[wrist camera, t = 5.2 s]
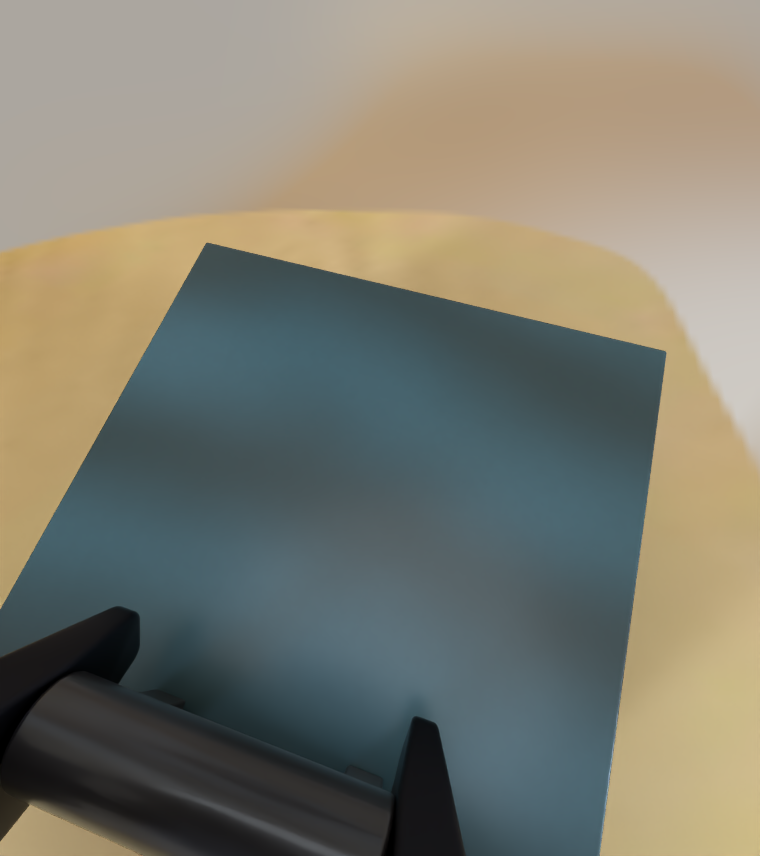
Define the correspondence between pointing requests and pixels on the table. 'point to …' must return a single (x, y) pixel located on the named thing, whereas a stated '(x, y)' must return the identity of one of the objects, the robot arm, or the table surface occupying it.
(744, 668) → the table surface
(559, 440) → the lid
